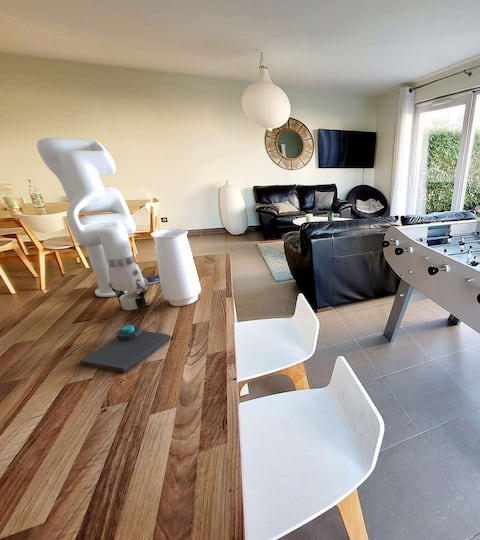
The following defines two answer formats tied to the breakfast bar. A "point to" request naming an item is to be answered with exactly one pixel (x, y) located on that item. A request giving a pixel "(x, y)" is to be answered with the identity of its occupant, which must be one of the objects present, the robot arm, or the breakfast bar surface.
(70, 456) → the breakfast bar surface
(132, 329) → the tare button
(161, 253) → the vase
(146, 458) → the breakfast bar surface
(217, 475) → the breakfast bar surface
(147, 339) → the scale
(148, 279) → the smartphone
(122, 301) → the bowl
